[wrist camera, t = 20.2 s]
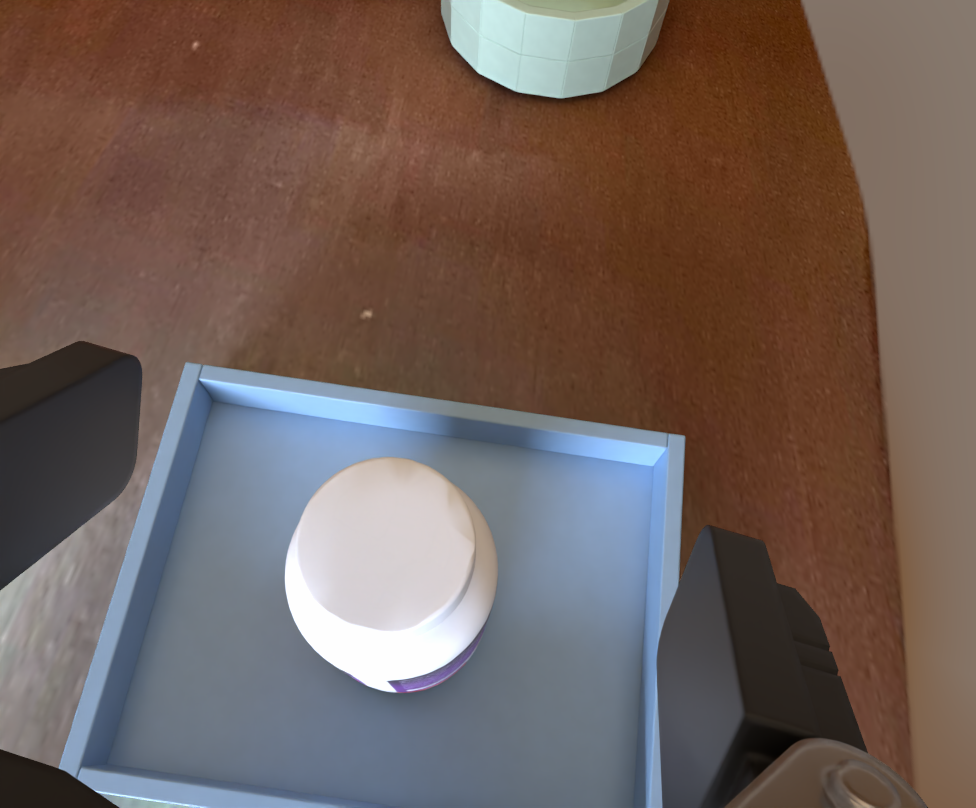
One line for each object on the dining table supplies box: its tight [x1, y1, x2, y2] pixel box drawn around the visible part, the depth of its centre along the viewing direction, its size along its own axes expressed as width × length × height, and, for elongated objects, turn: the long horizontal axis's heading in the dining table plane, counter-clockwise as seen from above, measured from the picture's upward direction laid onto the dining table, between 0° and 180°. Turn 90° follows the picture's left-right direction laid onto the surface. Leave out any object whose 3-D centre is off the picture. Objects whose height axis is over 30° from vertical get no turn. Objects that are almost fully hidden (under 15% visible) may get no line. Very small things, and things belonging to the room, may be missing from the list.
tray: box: [58, 362, 685, 808], centre depth 26 cm, size 17×13×2 cm
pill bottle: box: [285, 457, 498, 693], centre depth 22 cm, size 5×5×10 cm
